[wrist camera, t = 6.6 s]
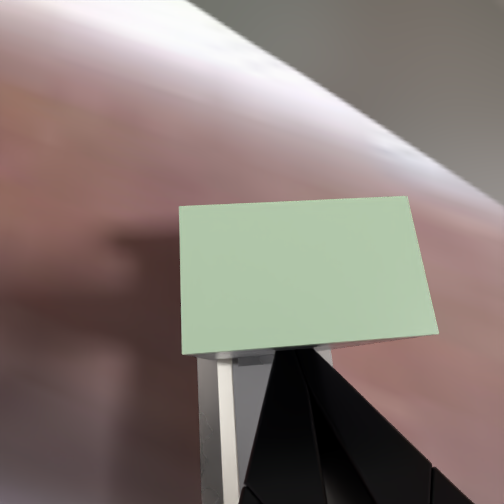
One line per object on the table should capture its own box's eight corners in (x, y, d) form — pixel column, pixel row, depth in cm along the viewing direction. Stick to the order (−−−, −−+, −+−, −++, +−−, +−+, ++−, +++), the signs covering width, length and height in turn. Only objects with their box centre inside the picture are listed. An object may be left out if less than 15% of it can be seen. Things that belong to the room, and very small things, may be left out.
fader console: (345, 592, 13) (392, 684, 9) (210, 610, 13) (202, 716, 9) (300, 238, 17) (320, 203, 14) (197, 244, 17) (188, 209, 13)
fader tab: (317, 359, 13) (443, 353, 5) (210, 368, 13) (181, 375, 5) (306, 282, 14) (403, 180, 6) (207, 288, 14) (178, 190, 6)
